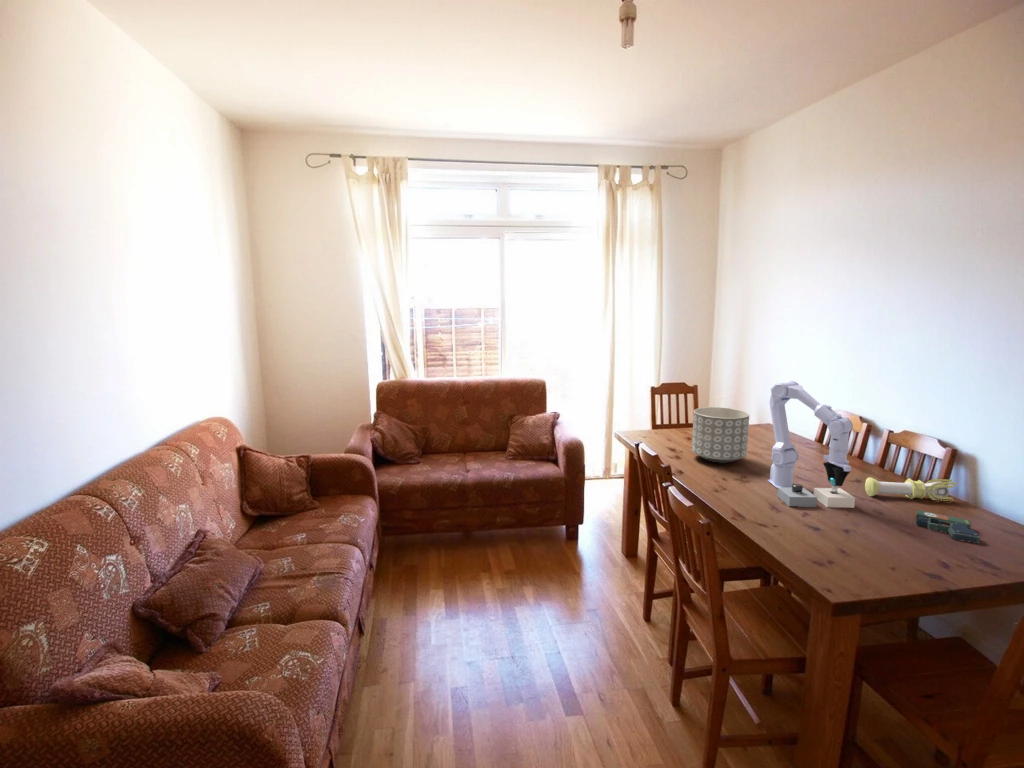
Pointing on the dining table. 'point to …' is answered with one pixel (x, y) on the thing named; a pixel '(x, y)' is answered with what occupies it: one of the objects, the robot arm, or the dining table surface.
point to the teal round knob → (833, 485)
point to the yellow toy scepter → (911, 488)
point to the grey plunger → (797, 488)
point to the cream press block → (834, 498)
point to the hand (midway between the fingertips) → (835, 483)
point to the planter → (720, 434)
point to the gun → (947, 525)
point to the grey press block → (797, 497)
